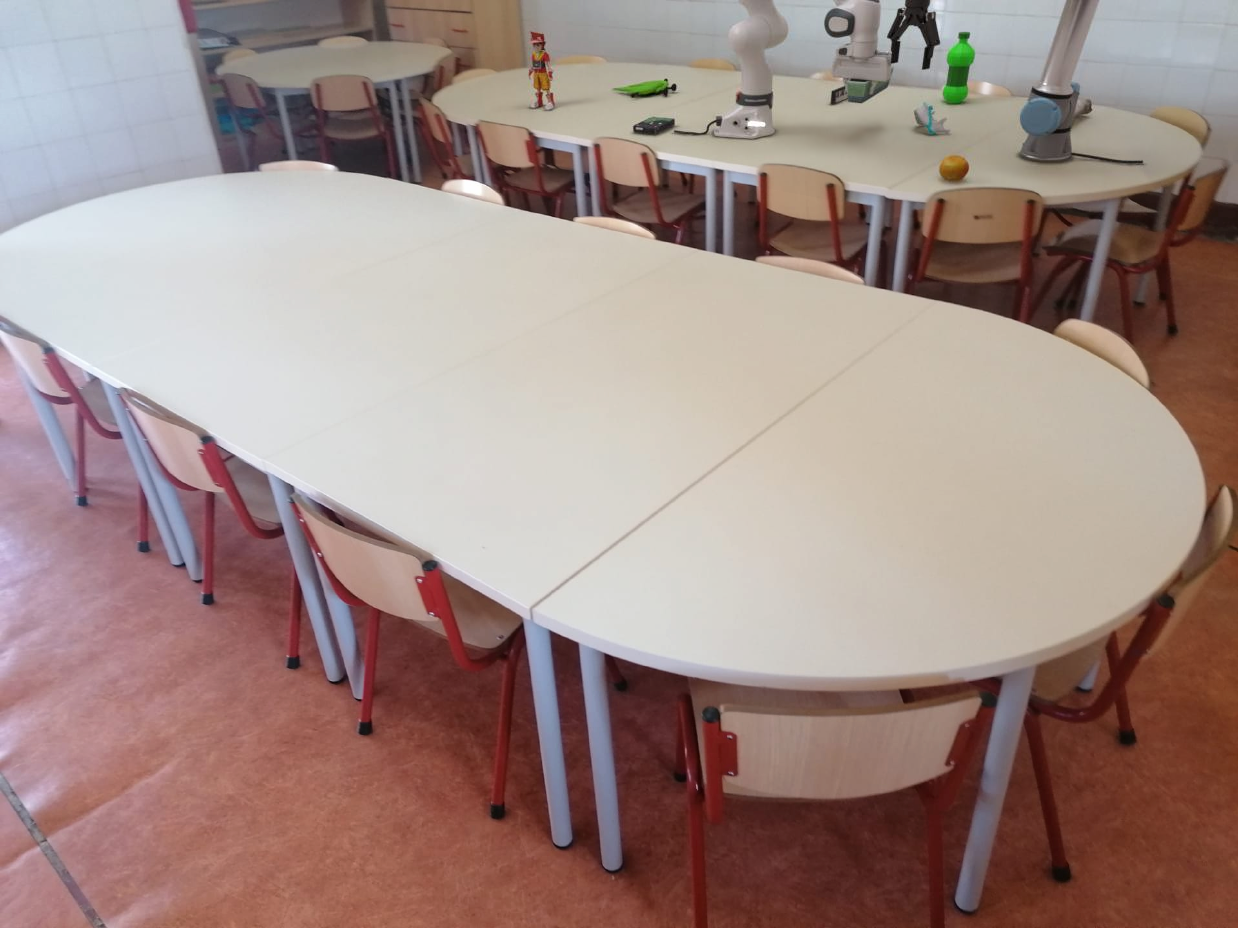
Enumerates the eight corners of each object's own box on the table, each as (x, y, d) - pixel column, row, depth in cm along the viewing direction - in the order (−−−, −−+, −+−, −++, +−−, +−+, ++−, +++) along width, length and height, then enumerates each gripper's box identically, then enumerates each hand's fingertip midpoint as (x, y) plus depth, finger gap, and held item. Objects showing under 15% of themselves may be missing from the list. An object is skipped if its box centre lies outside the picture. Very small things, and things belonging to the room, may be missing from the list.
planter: (863, 105, 305) (865, 83, 301) (843, 103, 309) (845, 81, 305) (892, 87, 324) (894, 66, 320) (872, 85, 327) (875, 64, 323)
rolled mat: (1059, 103, 333) (1083, 86, 324) (1072, 124, 333) (1097, 107, 325) (1027, 125, 315) (1052, 107, 307) (1041, 147, 316) (1067, 130, 308)
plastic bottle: (973, 101, 354) (984, 32, 339) (955, 106, 349) (966, 36, 335) (952, 97, 361) (962, 29, 346) (934, 102, 356) (944, 33, 342)
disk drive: (656, 136, 337) (675, 125, 347) (656, 128, 335) (675, 118, 345) (632, 133, 342) (652, 123, 352) (632, 125, 340) (651, 115, 350)
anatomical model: (908, 101, 325) (935, 94, 324) (909, 130, 331) (936, 123, 330) (923, 112, 313) (951, 104, 312) (924, 141, 319) (952, 134, 318)
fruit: (933, 171, 274) (950, 147, 271) (934, 173, 282) (951, 150, 279) (956, 186, 273) (974, 163, 270) (956, 188, 281) (973, 165, 278)
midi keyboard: (833, 104, 361) (834, 91, 358) (830, 104, 362) (831, 91, 359) (855, 95, 372) (856, 82, 369) (852, 95, 372) (853, 82, 370)
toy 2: (686, 85, 398) (631, 84, 414) (685, 72, 395) (629, 72, 411) (651, 104, 381) (596, 103, 397) (650, 92, 378) (594, 91, 394)
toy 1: (525, 109, 381) (517, 32, 364) (534, 104, 388) (527, 28, 371) (550, 110, 377) (543, 32, 360) (559, 105, 384) (553, 28, 367)
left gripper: (896, 50, 298) (891, 93, 306) (838, 45, 307) (834, 88, 315) (890, 53, 293) (884, 98, 301) (831, 49, 303) (827, 92, 311)
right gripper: (958, -5, 271) (947, 70, 283) (897, -12, 289) (889, 59, 301) (941, -2, 268) (930, 73, 280) (880, -9, 286) (873, 62, 298)
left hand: (858, 93), depth 308 cm, fingers closed on planter, 6 cm apart
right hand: (909, 66), depth 291 cm, fingers open, 13 cm apart
